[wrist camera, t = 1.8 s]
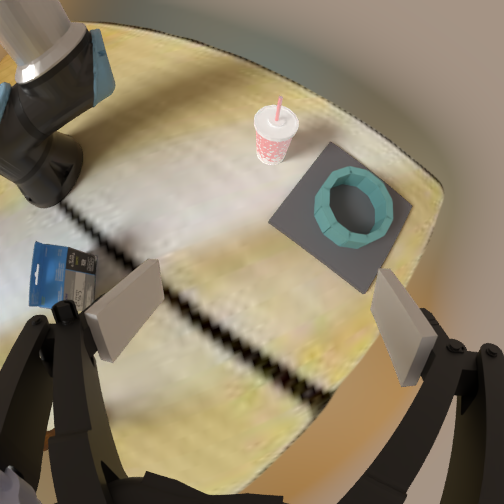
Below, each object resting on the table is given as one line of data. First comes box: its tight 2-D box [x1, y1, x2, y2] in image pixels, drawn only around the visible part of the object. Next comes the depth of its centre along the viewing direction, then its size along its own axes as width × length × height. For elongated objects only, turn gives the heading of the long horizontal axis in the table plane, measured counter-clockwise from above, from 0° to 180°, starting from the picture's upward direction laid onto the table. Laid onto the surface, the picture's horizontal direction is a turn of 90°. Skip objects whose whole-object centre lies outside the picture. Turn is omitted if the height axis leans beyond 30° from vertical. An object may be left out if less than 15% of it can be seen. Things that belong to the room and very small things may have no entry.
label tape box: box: [29, 241, 97, 311], centre depth 32 cm, size 9×4×12 cm, turn 177°
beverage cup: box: [254, 96, 299, 165], centre depth 36 cm, size 6×6×14 cm
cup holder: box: [268, 142, 412, 294], centre depth 39 cm, size 18×18×5 cm
